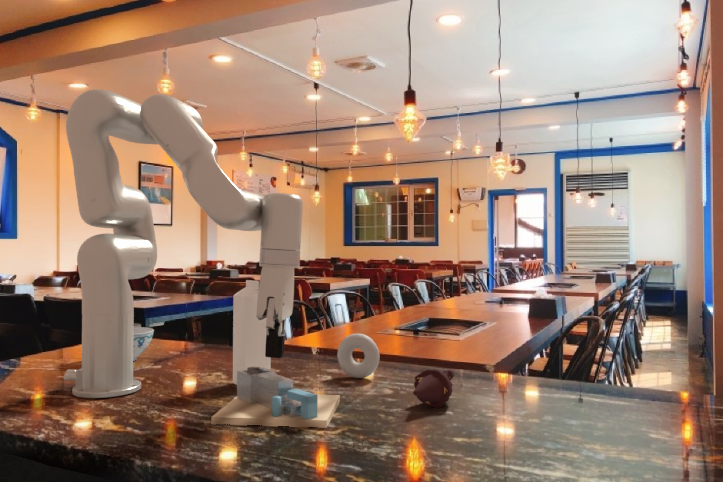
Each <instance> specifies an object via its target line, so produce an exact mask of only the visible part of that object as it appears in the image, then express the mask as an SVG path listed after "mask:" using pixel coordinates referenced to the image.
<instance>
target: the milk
mask: <svg viewBox="0 0 723 482" xmlns="http://www.w3.org/2000/svg"><path fill="white" fill-rule="evenodd" d="M259 283H260V281H259V280H251V279H250V280H249V279H246V280H245V287H244V288H242V289H240V290H239V291H237V292H236V293H235V294H233V296H232V297H233V300H232V304H233V305H232V307H233V308H232V310H233V316H232V319H233V321H232V326H233V327H232V384H234V385H236V386H237V371H240V370H247V368H248V367H260V368H261V367H263V368H266V369H269V370H272V368H271V365H272V364H271V361H272V359H271V357H266V356H265V350H266V320H267V318H265V319H263V320H258V319H257V318H256V312H257V301H258V291H259Z"/></svg>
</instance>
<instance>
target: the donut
mask: <svg viewBox="0 0 723 482" xmlns="http://www.w3.org/2000/svg"><path fill="white" fill-rule="evenodd" d="M355 349H359V350H360V351H362V352H363V355H364V359H363V361H361V362H357V361H356V360H355V359H354V357H353V352H354V350H355ZM380 355H381V354H380V349H379V347H378V346H377V343H376V342H375V341H374V340H373V338H371V337H370V336H369V335H366V334H364V333H351V334H349V335H348V336H347V335H346V336H345V337H344V339H342V341H340V344H339V346H338V349H337V354H336V357H337V361H338V364H339V366H340V368H341V369H342V370H343V372H344V373H345V374H346V375H348V376H349V377H351V378H355V379H363V378H364V379H365V378H368V377H369V376H371V375H372V374H374V372H375V371H376V370H377V369H378V366H379V364H380V357H381V356H380Z"/></svg>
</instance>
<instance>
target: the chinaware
mask: <svg viewBox="0 0 723 482" xmlns="http://www.w3.org/2000/svg"><path fill="white" fill-rule="evenodd" d="M154 332H155V329H153V327H144V326H143V327H142V326H141V327H140V326H134V337H133V361H134V362H136V361H137V357H139V356H140V355H142V353H144V352H145V351H146V350H147V349H148V347H149V345H150V343H151V342H152V339H153V336H154ZM135 360H136V361H135Z"/></svg>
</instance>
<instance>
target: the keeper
mask: <svg viewBox="0 0 723 482" xmlns="http://www.w3.org/2000/svg"><path fill="white" fill-rule="evenodd" d="M318 395H319V394H316V393H313V392H309V391H306V390H302V389H298V388H293V390H289V391H287V398H289V399H292V400H295V401H299V402H301V417H302V418H305V419H311V418H315V417H317V401H318ZM271 416H272V417H279V416H281V396H273V397H272V415H271Z"/></svg>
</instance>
